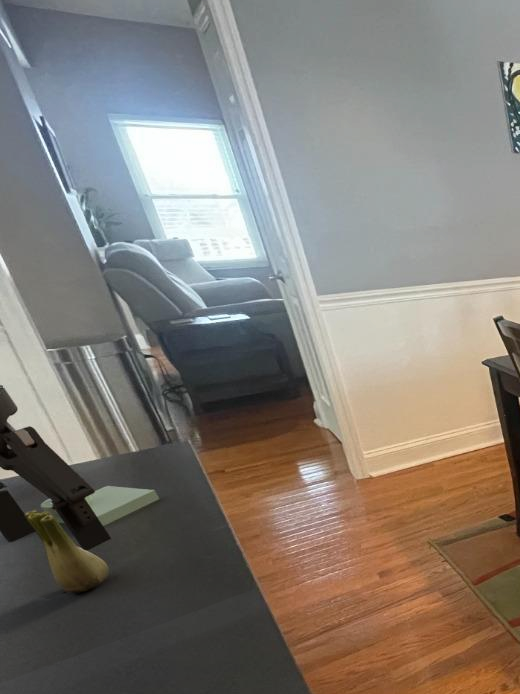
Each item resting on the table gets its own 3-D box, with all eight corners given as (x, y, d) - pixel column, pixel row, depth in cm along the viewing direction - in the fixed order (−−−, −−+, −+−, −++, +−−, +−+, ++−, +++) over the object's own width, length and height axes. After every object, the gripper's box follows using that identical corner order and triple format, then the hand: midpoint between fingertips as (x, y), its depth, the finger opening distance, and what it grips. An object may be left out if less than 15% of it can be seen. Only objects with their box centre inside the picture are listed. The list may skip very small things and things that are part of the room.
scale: (44, 523, 99) (31, 505, 97) (109, 494, 107) (98, 477, 106) (97, 529, 97) (85, 511, 95) (159, 499, 105) (149, 482, 103)
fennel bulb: (69, 583, 84) (16, 511, 78) (116, 568, 87) (68, 497, 81) (63, 603, 80) (7, 528, 74) (113, 586, 83) (62, 513, 77)
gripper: (-167, 399, 69) (-44, 549, 79) (-14, 406, 64) (97, 565, 74) (-76, 378, 76) (27, 518, 85) (69, 382, 70) (161, 531, 80)
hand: (59, 540), depth 80 cm, fingers open, 13 cm apart
